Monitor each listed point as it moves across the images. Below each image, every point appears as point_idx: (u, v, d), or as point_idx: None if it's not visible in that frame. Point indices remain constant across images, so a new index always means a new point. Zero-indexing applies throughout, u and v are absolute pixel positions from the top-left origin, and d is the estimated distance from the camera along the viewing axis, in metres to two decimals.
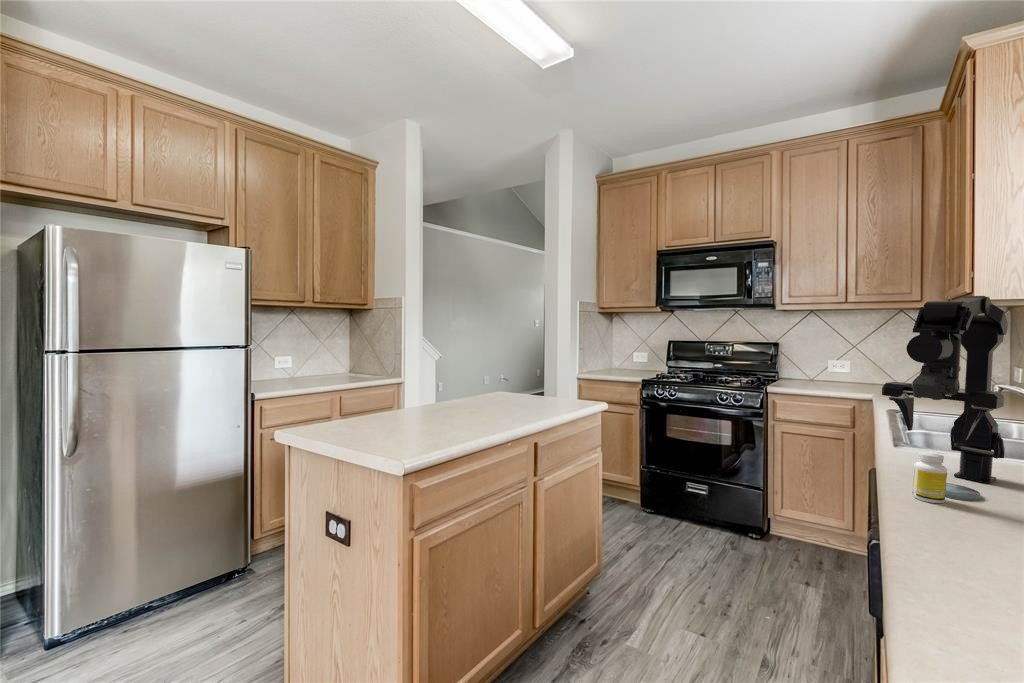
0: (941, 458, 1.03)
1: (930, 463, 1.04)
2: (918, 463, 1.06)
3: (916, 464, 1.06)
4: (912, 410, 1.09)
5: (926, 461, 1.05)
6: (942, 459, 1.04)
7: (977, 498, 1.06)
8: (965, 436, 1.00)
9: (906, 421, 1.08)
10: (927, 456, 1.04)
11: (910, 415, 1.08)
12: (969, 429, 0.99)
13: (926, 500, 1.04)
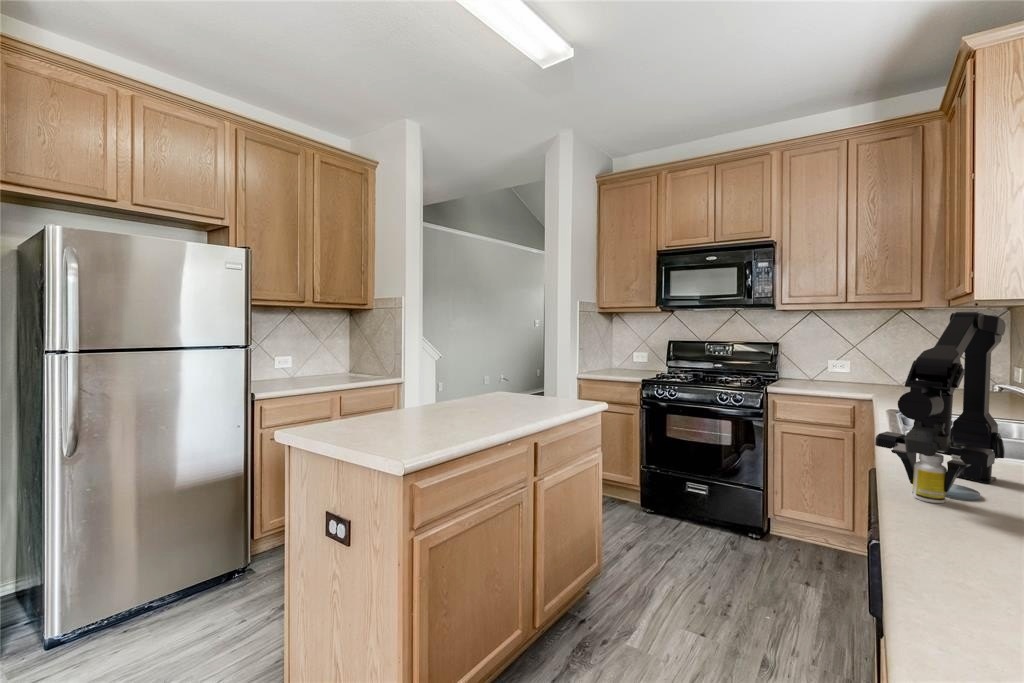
0: (941, 458, 1.03)
1: (930, 463, 1.04)
2: (918, 463, 1.06)
3: (916, 464, 1.06)
4: (914, 463, 1.09)
5: (926, 461, 1.05)
6: (942, 459, 1.04)
7: (977, 498, 1.06)
8: (946, 488, 1.03)
9: (908, 474, 1.08)
10: (927, 456, 1.04)
11: (913, 468, 1.08)
12: (950, 482, 1.02)
13: (926, 500, 1.04)
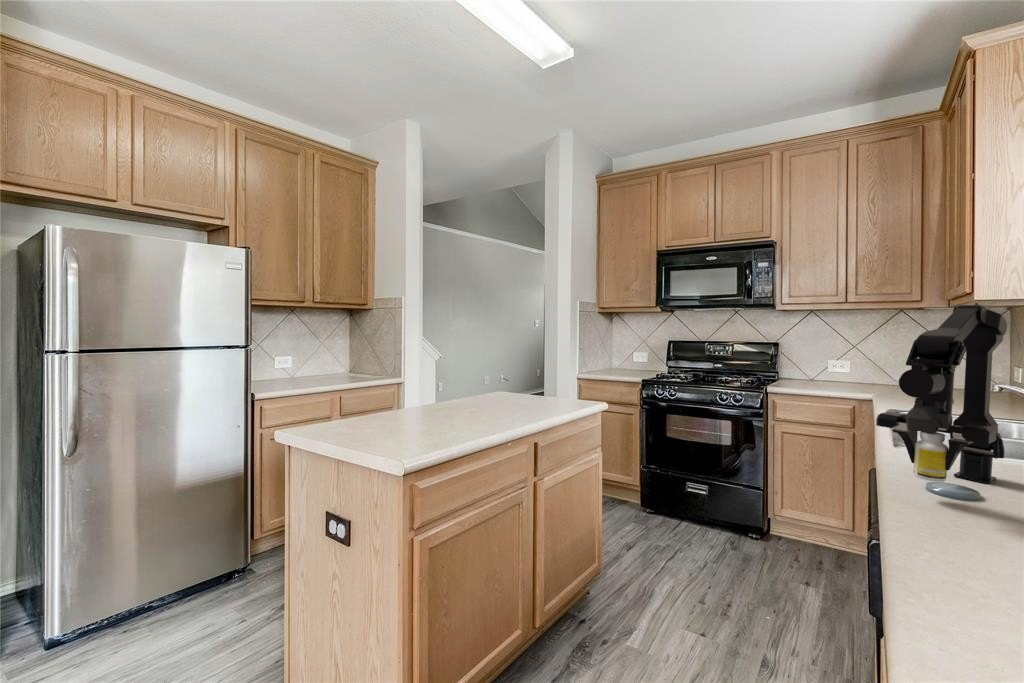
0: (942, 436, 1.03)
1: (931, 441, 1.04)
2: (919, 442, 1.06)
3: (917, 443, 1.06)
4: (915, 443, 1.08)
5: (928, 440, 1.04)
6: (943, 437, 1.03)
7: (977, 498, 1.06)
8: (947, 467, 1.03)
9: (910, 454, 1.08)
10: (928, 435, 1.04)
11: (914, 448, 1.08)
12: (951, 460, 1.02)
13: (928, 478, 1.04)
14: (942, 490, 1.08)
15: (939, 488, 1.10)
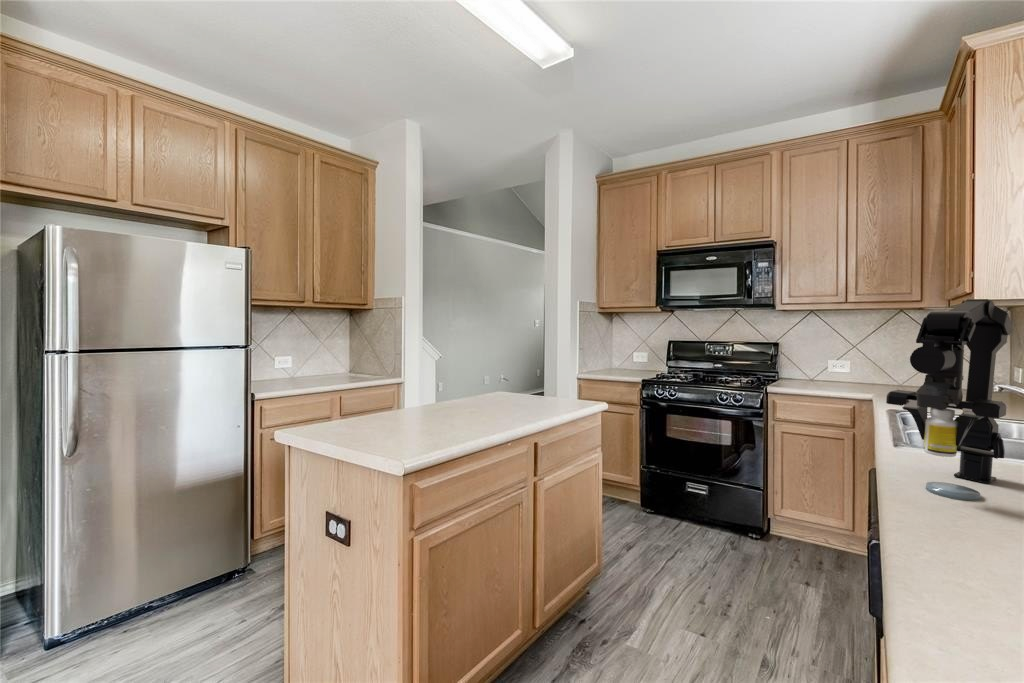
0: (952, 412, 1.04)
1: (942, 417, 1.05)
2: (929, 418, 1.07)
3: (927, 419, 1.07)
4: (925, 419, 1.10)
5: (938, 416, 1.06)
6: (953, 413, 1.05)
7: (977, 498, 1.06)
8: (958, 442, 1.04)
9: (920, 430, 1.09)
10: (938, 411, 1.05)
11: (924, 424, 1.09)
12: (961, 435, 1.03)
13: (938, 454, 1.05)
14: (942, 490, 1.08)
15: (939, 488, 1.10)
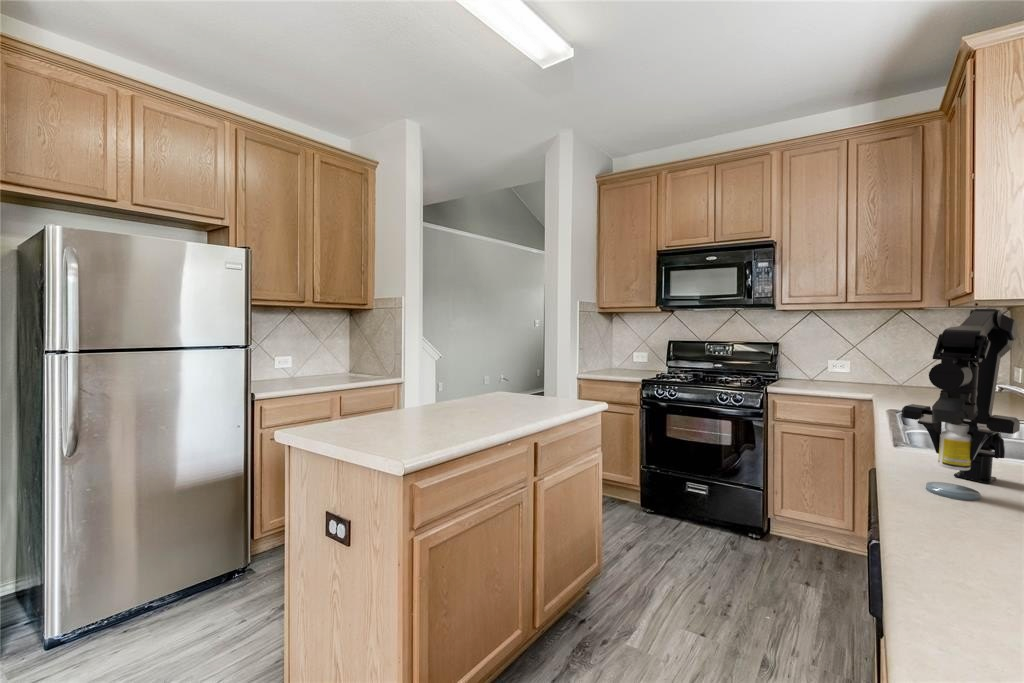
0: (967, 427, 1.07)
1: (956, 432, 1.08)
2: (944, 433, 1.10)
3: (942, 434, 1.10)
4: None
5: (952, 431, 1.08)
6: (968, 428, 1.07)
7: (977, 498, 1.06)
8: (972, 456, 1.07)
9: (934, 444, 1.12)
10: (953, 426, 1.08)
11: (938, 438, 1.12)
12: (975, 450, 1.06)
13: (953, 467, 1.08)
14: (942, 490, 1.08)
15: (939, 488, 1.10)
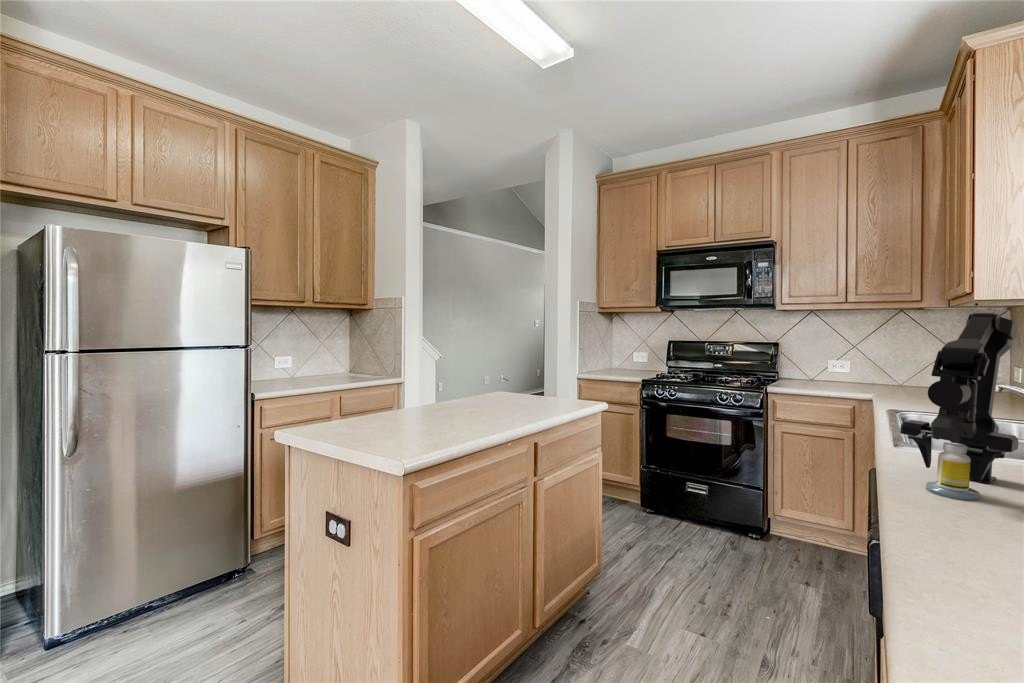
0: (965, 448, 1.08)
1: (954, 452, 1.08)
2: (942, 453, 1.10)
3: (940, 454, 1.10)
4: (930, 448, 1.14)
5: (951, 451, 1.09)
6: (966, 449, 1.08)
7: (977, 498, 1.06)
8: (980, 476, 1.05)
9: (924, 459, 1.13)
10: (951, 446, 1.08)
11: (928, 453, 1.13)
12: (984, 469, 1.05)
13: (951, 488, 1.08)
14: (942, 490, 1.08)
15: (939, 488, 1.10)
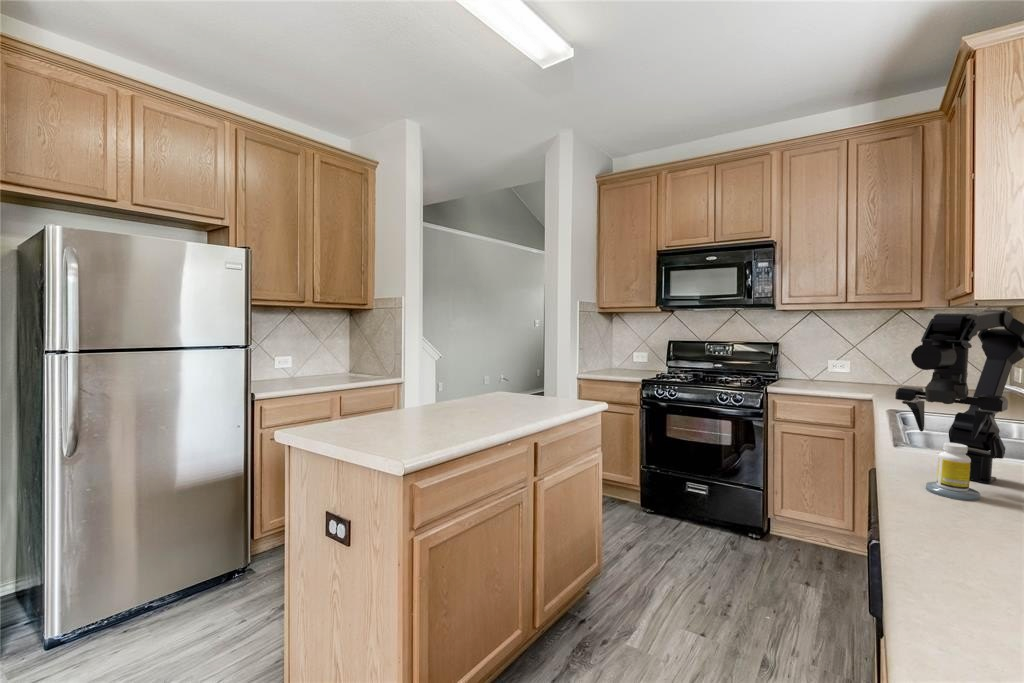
0: (965, 448, 1.07)
1: (955, 453, 1.08)
2: (942, 453, 1.10)
3: (941, 454, 1.10)
4: (923, 413, 1.19)
5: (951, 452, 1.09)
6: (966, 449, 1.08)
7: (977, 498, 1.06)
8: (973, 436, 1.10)
9: (918, 423, 1.18)
10: (951, 447, 1.08)
11: (922, 417, 1.18)
12: (977, 430, 1.09)
13: (951, 488, 1.08)
14: (942, 490, 1.08)
15: (939, 488, 1.10)
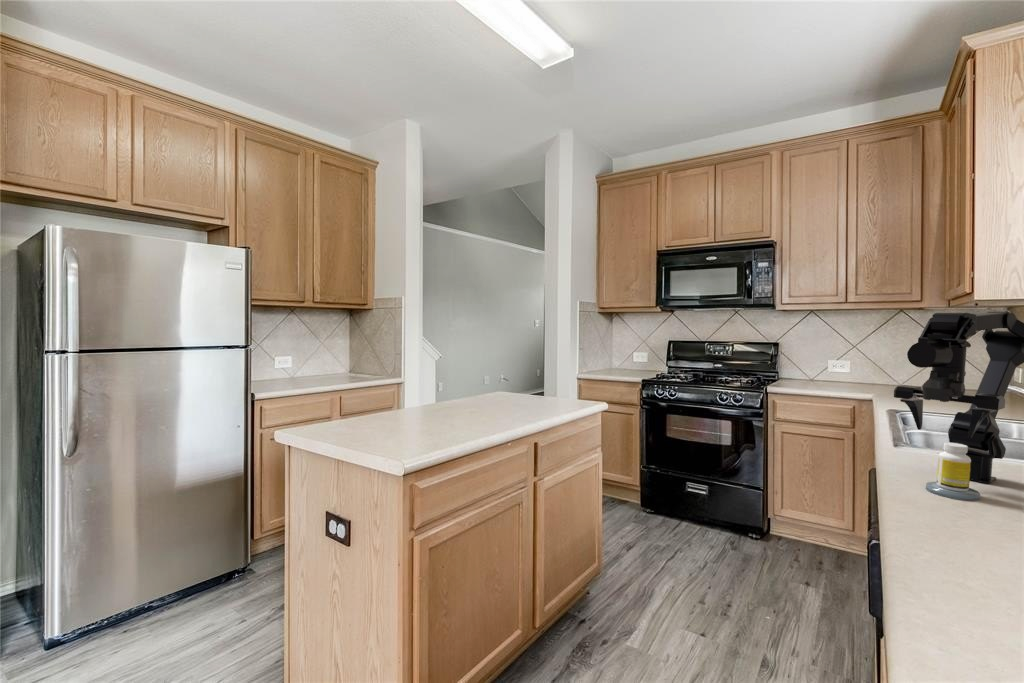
0: (965, 448, 1.07)
1: (955, 453, 1.08)
2: (943, 453, 1.10)
3: (941, 454, 1.10)
4: (921, 411, 1.20)
5: (951, 451, 1.09)
6: (966, 449, 1.08)
7: (977, 498, 1.06)
8: (970, 434, 1.11)
9: (916, 421, 1.19)
10: (951, 447, 1.08)
11: (920, 415, 1.19)
12: (973, 428, 1.10)
13: (951, 488, 1.08)
14: (942, 490, 1.08)
15: (939, 488, 1.10)
